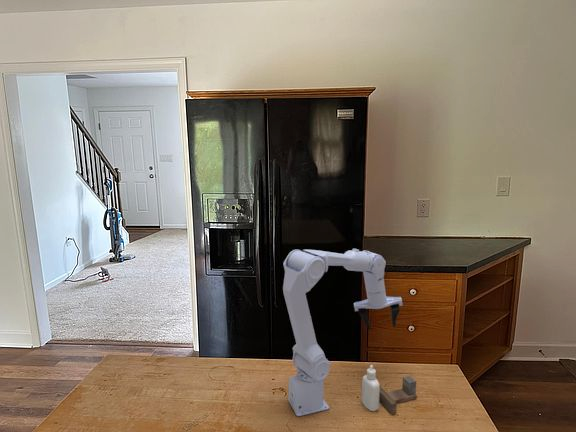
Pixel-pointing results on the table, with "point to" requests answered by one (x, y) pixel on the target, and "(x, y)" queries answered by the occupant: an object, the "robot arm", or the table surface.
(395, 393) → the grey hook bracket
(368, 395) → the eye dropper bottle
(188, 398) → the table surface
